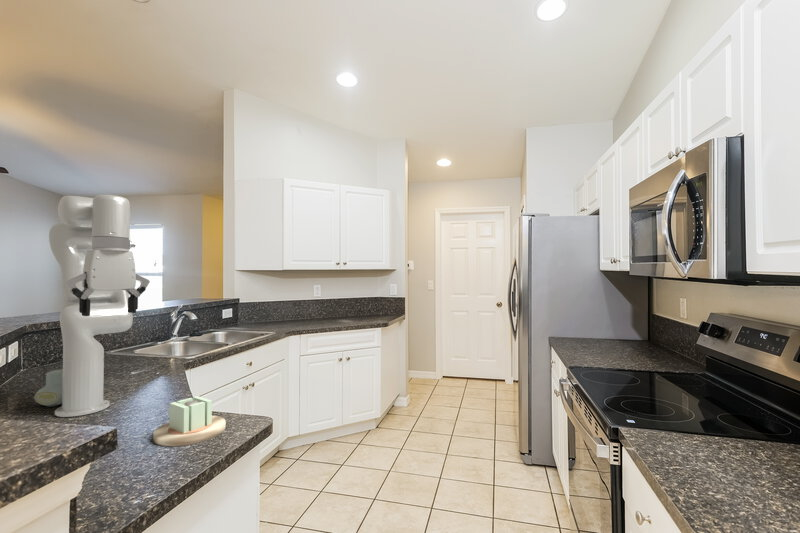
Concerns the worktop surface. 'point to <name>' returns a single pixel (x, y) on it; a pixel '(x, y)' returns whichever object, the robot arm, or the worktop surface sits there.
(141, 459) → the worktop surface
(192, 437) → the post base
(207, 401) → the collar
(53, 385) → the air freshener
